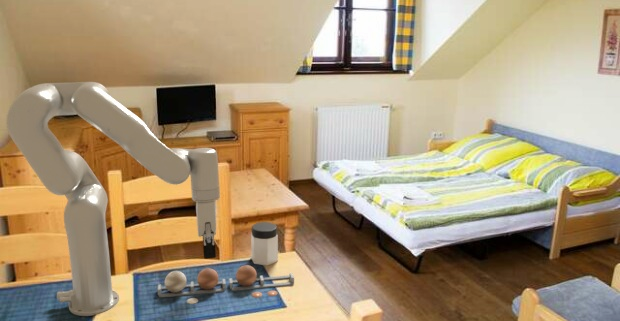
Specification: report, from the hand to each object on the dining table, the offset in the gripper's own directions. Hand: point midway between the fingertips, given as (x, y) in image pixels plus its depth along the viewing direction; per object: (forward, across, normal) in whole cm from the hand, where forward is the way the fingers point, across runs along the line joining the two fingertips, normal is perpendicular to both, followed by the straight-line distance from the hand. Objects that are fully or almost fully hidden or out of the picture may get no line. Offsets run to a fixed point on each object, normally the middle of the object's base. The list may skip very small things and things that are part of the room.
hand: (209, 250), depth 144 cm
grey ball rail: (+12, 0, +4) cm, 13 cm away
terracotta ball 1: (+12, 0, -1) cm, 12 cm away
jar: (+13, -16, +18) cm, 27 cm away
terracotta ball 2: (+12, 0, +10) cm, 16 cm away
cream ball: (+12, 0, -10) cm, 15 cm away
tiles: (+12, +6, +4) cm, 15 cm away
